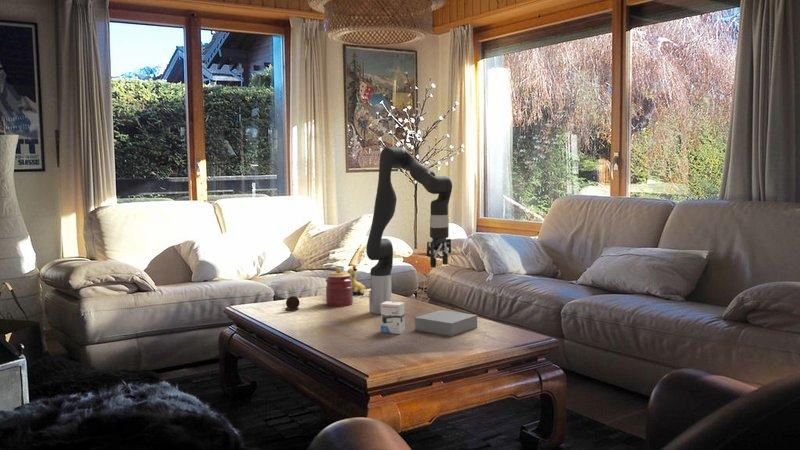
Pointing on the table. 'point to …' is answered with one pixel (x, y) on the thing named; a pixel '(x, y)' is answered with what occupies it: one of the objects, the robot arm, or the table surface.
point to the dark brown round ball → (292, 303)
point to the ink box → (392, 317)
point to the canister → (339, 288)
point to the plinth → (446, 322)
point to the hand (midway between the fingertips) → (439, 265)
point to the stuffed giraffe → (356, 284)
